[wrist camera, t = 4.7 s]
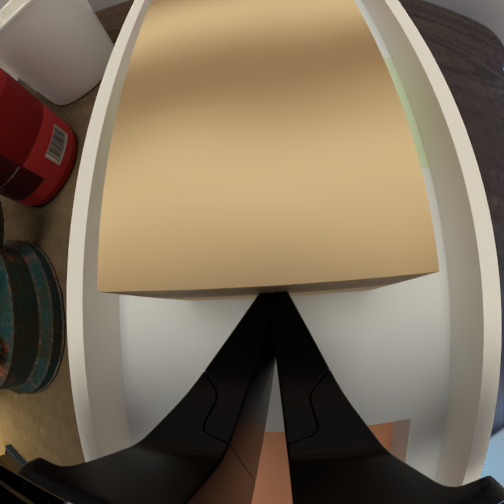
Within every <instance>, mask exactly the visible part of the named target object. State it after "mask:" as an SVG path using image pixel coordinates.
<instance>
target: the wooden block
mask: <svg viewBox="0 0 504 504" xmlns="http://www.w3.org/2000/svg"><path fill="white" fill-rule="evenodd" d="M436 272H439V264H438V255H437V248H436V241H435V234H434V228H433V222H432V216H431V211H430V206H429V201H428V196H427V191H426V187H425V183H424V178H423V174H422V170H421V166H420V162H419V159H418V155H417V151H416V148H415V144H414V141H413V137H412V134H411V131H410V128H409V125H408V122H407V119H406V116H405V113H404V110H403V107H402V104H401V101H400V98H399V96H398V93H397V90H396V88H395V85H394V83H393V80H392V78H391V75H390V73H389V70H388V68H387V66H386V63H385V61H384V59H383V57H382V54H381V52H380V50H379V48H378V46H377V44H376V41H375V39H374V37H373V35H372V33H371V31H370V29H369V27H368V25H367V23H366V21H365V20H364V18H363V16H362V14H361V12H360V10H359V8H358V7H357V5H356V3H355V1H354V0H154V1H151V2H150V5H149V7H148V10H147V12H146V15H145V18H144V20H143V23H142V26H141V29H140V32H139V34H138V37H137V40H136V43H135V47H134V50H133V53H132V56H131V59H130V63H129V66H128V70H127V73H126V77H125V81H124V84H123V88H122V92H121V96H120V100H119V105H118V109H117V113H116V118H115V123H114V128H113V133H112V138H111V143H110V149H109V155H108V161H107V168H106V175H105V182H104V190H103V198H102V207H101V218H100V230H99V246H98V269H97V292H102V293H111V294H121V295H130V296H141V297H151V298H163V299H175V300H187V301H201V300H229V299H252V298H256V297H257V296H258V294H259V293H268V292H273V293H274V292H285V291H287V292H288V293H289V295H290V296H303V295H317V294H330V293H343V292H355V291H366V290H372V289H376V288H380V287H384V286H388V285H392V284H396V283H400V282H403V281H407V280H411V279H415V278H418V277H422V276H425V275H429V274H432V273H436Z"/></svg>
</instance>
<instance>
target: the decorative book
mask: <svg viewBox="0 0 504 504" xmlns="http://www.w3.org/2000/svg"><path fill="white" fill-rule="evenodd" d="M26 463H27V462H26V461H25V460H24V459H23V458H22V457H21V456H20V455H19V454H18V452H17V451H16V450H15V449H14V448H13V447H12V446H11V444H10V445H7V446H6V451H5V454H4V455H1V456H0V464H1V465H3V466H4V467H6V468H8V469H10V470H11V471H13V472H15V473H17V474H18V475H20V474H19V473H18V470H19V469H20V468H21V467H22V466H23V465H24V464H26ZM20 476H22V475H20ZM22 477H23V476H22ZM23 478H25V477H23ZM25 479H26V478H25ZM27 480H28V479H27ZM29 481H30V480H29ZM30 482H31V481H30ZM32 483H33V482H32ZM34 484H35V483H34ZM37 486H38V485H37ZM39 487H40V486H39ZM44 490H45V489H44ZM46 491H47V490H46ZM55 496H56V495H55ZM57 497H58V496H57ZM59 498H60V497H59ZM61 499H62V498H61ZM63 500H64V499H63Z"/></svg>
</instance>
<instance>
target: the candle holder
mask: <svg viewBox="0 0 504 504" xmlns="http://www.w3.org/2000/svg"><path fill="white" fill-rule="evenodd" d="M113 48H114V44H113V42H112V41H111V39H110V37H109V36H108V34H107V32H106V31H105V29H104V27H103V26H102V24H101V22H100V21H99V19H98V17H97V16H96V14H95V12H94V11H93V10H92V8H91V6H90V4H89V3H88V1H87V0H10V1H9V2H8V3H7V4H6V5H5V6H4V7H3V8H2V9H1V10H0V65H1V66H3V67H4V68H5V69H7V70H8V71H9V72H11V73H12V74H14V75H15V76H16V77H18V78H19V79H20V80H22V81H23V82H24V83H26V84H27V85H29V86H30V87H31V88H33V89H34V90H35V91H37V92H38V93H40V94H41V95H42V96H44V97H45V98H47V99H48V100H49V101H51V102H52V103H54V104H56V105H66V104H70V103H72V102H74V101H76V100H78V99H80V98H81V97H83V96H84V95H86V94H87V93H88V92H89V91H91V90H92V89H93V88H94V87H95V86H96V85H97V84H98V83H99V82H100V81H101V80H102V79H103V76H104V73H105V70H106V67H107V64H108V62H109V59H110V56H111V54H112V51H113Z"/></svg>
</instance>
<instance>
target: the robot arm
mask: <svg viewBox="0 0 504 504" xmlns="http://www.w3.org/2000/svg"><path fill="white" fill-rule="evenodd" d="M275 362H276V364H277V372H278V380H279V388H280V397H281V405H282V413H283V421H284V430H285V438H286V446H287V455H288V464H289V473H290V482H291V492H292V501H293V504H498V503H499V504H504V501H503V500H504V488H503V487H502V485H500V483H498V482H497V481H496V480H495V479H494V478H493V477H491V476H487V477H484V478H481V479H478V480H475V481H473V482H470V483H468V484H465V485H462V486H457V487H450V486H445V485H442V484H440V483H437V482H436V481H434V480H432V479H431V478H429V477H427V476H426V475H424V474H422V473H421V472H419V471H417V470H416V469H414V468H413V467H411V466H410V465H408V464H406V463H405V462H403V461H402V460H400V459H399V458H397V457H396V456H394V455H393V454H391V453H390V452H389V451H388V450H387V449H386V448H385V447H384V446H383V445H382V444H381V443H380V442H379V440H378V439H377V438H376V437H375V435H374V434H373V433H372V431H371V430H370V429H369V427H368V426H367V425H366V423H365V422H364V421H363V419H362V418H361V417H360V415H359V414H358V413H357V411H356V410H355V409H354V407H353V406H352V404H351V403H350V402H349V400H348V399H347V397H346V396H345V394H344V393H343V391H342V389H341V388H340V386H339V384H338V383H337V381H336V379H335V377H334V375H333V374H332V372H331V370H329V366H328V365H327V363H326V361H325V359H324V357H323V355H322V353H321V352H320V350H319V348H318V346H317V344H316V342H315V341H314V339H313V337H312V335H311V333H310V331H309V329H308V328H307V326H306V324H305V322H304V320H303V318H302V317H301V315H300V313H299V311H298V309H297V307H296V306H295V304H294V302H293V300H292V298H291V297H290V295H289V293H288V292H287V291H285V292H274V293H273V292H268V293H259V294H258V296H257V297H256V299H255V300H254V302H253V303H252V304H251V306H250V307H249V309H248V310H247V312H246V313H245V314H244V316H243V317H242V319H241V320H240V322H239V323H238V324H237V326H236V327H235V329H234V330H233V331H232V333H231V334H230V336H229V337H228V339H227V340H226V341H225V343H224V344H223V346H222V347H221V348H220V350H219V351H218V353H217V354H216V355H215V357H214V358H213V359H212V361H211V362H210V364H209V365H208V366H207V368H206V369H205V372H203V373H202V374H201V376H200V377H199V379H198V380H197V381H196V383H195V384H194V385H193V386H192V388H191V389H190V390H189V392H188V393H187V394H186V395H185V396H184V397H183V398H182V400H181V401H180V402H179V403H178V404H177V405H176V406H175V407H174V408H173V409H172V410H171V411H170V412H169V413H168V414H167V415H166V417H165V418H164V419H163V420H162V421H161V422H160V423H159V424H158V425H157V426H156V427H155V428H154V429H153V430H152V431H151V432H150V433H149V434H148V435H147V436H146V437H144V438H143V439H142V440H141V441H139V442H138V443H136V444H134V445H132V446H131V447H128V448H126V449H123V450H120V451H118V452H115V453H112V454H109V455H106V456H103V457H100V458H97V459H94V460H91V461H88V462H85V463H82V464H79V465H74V466H58V465H55V464H53V463H50V462H48V461H46V460H44V459H42V458H36V459H34V460H32V461H30V462H28V463H26V464H24V465H23V466H22V467H21V468H20V469H19V470H18V473H19V474H20V475H22V476H23V477H25V478H26V479H25V478H23V477H22V476H20V475H18V474H17V473H15V472H13V471H11V470H10V469H8V468H6V467H4V466H3V465H1V464H0V504H251V503H252V498H253V493H254V488H255V481H256V477H257V472H258V466H259V461H260V455H261V450H262V444H263V438H264V433H265V427H266V421H267V415H268V409H269V402H270V396H271V390H272V383H273V377H274V370H275ZM27 479H28V480H27ZM29 480H30V481H31V482H30V481H29ZM32 482H33V483H32ZM34 483H35V484H34ZM37 485H38V486H37ZM39 486H40V487H39ZM44 489H45V490H44ZM46 490H47V491H46ZM55 495H56V496H55ZM57 496H58V497H57ZM59 497H60V498H59ZM61 498H62V499H61ZM63 499H64V500H63ZM502 501H503V502H502ZM500 502H501V503H500Z"/></svg>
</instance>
